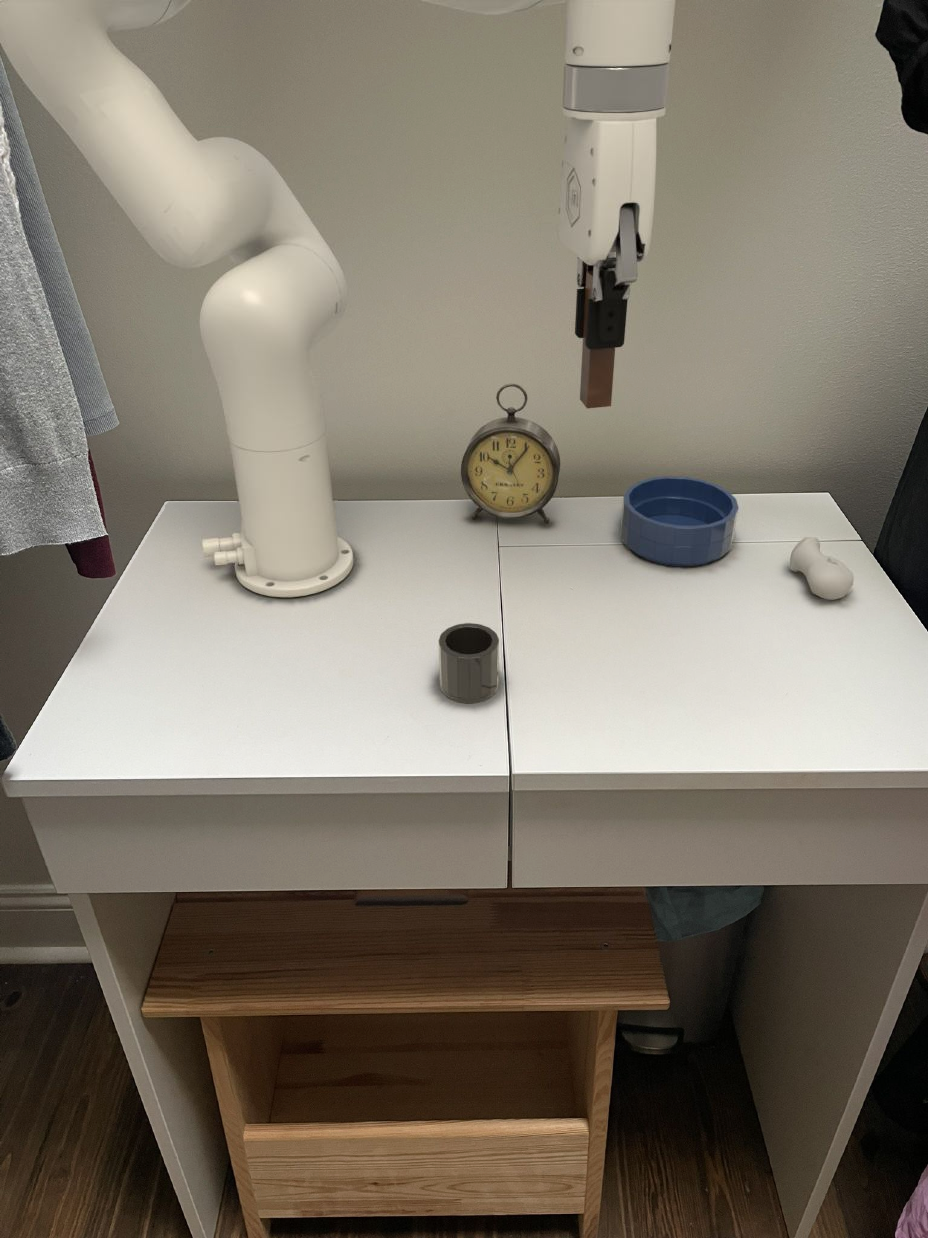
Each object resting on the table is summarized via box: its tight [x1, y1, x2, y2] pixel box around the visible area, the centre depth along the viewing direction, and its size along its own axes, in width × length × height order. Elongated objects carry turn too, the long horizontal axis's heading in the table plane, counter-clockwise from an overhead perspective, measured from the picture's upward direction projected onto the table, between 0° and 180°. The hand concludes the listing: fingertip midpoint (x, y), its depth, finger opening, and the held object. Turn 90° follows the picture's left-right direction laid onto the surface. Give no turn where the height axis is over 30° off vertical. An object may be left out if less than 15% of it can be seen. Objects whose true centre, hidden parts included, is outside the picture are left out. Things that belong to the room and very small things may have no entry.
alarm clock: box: [460, 383, 561, 524], centre depth 106 cm, size 11×5×16 cm, turn 81°
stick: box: [579, 269, 616, 409], centre depth 79 cm, size 2×2×11 cm
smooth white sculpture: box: [789, 536, 854, 600], centre depth 97 cm, size 4×8×5 cm
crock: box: [438, 622, 500, 704], centre depth 84 cm, size 5×5×5 cm
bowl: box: [619, 475, 739, 567], centre depth 104 cm, size 12×12×5 cm
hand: (599, 339), depth 79 cm, fingers closed on stick, 2 cm apart
